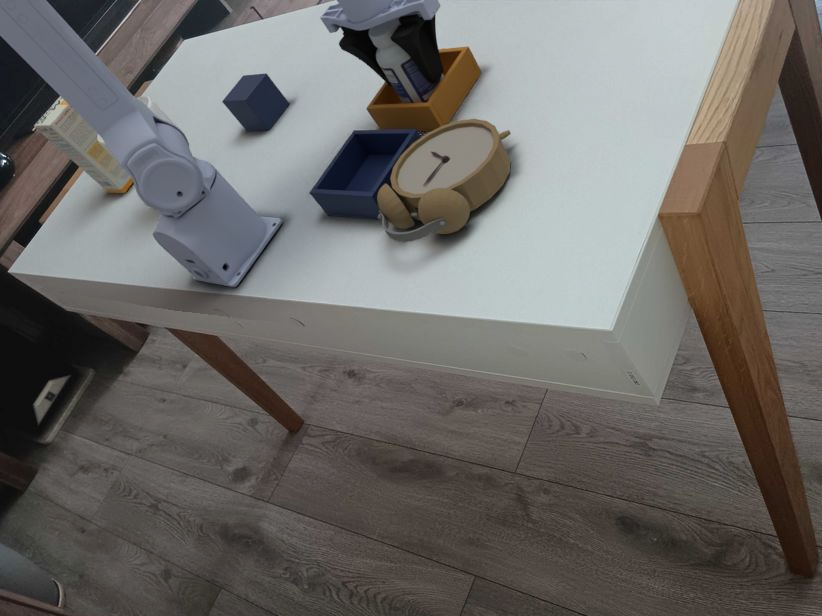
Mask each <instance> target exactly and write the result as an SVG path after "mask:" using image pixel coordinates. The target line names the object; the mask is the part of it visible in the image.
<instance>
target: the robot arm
mask: <svg viewBox="0 0 822 616" xmlns="http://www.w3.org/2000/svg"><path fill="white" fill-rule="evenodd" d="M336 1H337V3H336V4H331V5H328V7H327V8H326V9H325V11H324V12H322V14H321V16H320V17H319V19H320V20H321V23H323V25H324V26H325V28H326V29H327V31H328V32H329V33H330V34H333V33H337V32H338V31H339V30H340V29H341V31H342V35H343V36H342V38H341V39H340V40H339V42H338V46H339V47H340V49H341V50H342V51H344V52H346V53H348V54H349V55H352V56H354V57H355V58H357V59H359V60H360V61H361V62H363V63H364V64H365V65H366V66H368V68H370V69H371V70H373V72H375V73H376V74H377V75H378V76H379V77H380V78H381V79H382V80H383V81H384V83H385V82H386V83H388V84H389V85H390V86H392V85H391V83H390V82H389V80H388V78H387V77H386V75H385V74H384V72H383V70H382V69H381V67H380V66H379V64H378V62H377V60H376V51H377V49H378V48H377V47H376V46H375V45H374V44H373V42H372V40H371V38H370V37H369V30H370V28H372V27H375V26H377V25H380V24H382V23H385V22H388V21H394V20H399V22H400V24H401V25H399V26H398V28H397V29H396V30H395V32H394V33H393V34H392V36H391V37H390V39H391V40H392V42H394V43H396V44H397V45H398V46H400V47H401V48H402V49H403V50H404V51H405V52H406V53H407V54H408V55H409V56H410V57H411V58H412V59H413V61H414V62H415V63H416V65H417V66H418V68H419V69H420V71H421V72H422V74H423V75H424V77H425V78H426V79H427V80H428V81H429V82H430V83H436V82H437V80H438V79H439V77H440V76H441V75H442V73H443V72H444V69H443V66H442V62H441V58H440V54H439V50H438V49H439V46H438V39H437V31H436V16H437V15H436V14H437V12H438V11H439V10H440V8H441V3H440V1H439V0H336ZM0 37H1V38H2V39H3V40H4V41H5V42H6V43H7V44H8V45H9V46H10V47H11V48H12V49H13V50H14V52H16V53H17V54H18V55H19V56H20V57H21V58H22V59H23V60H24V61H25V62H26V63H27V64H28V65H29V66H30V67H31V68H32V69H33V70H34V71H35V72H36V73H37V75H39V76H40V77H41V78H42V79H43V80H44V81H45V82H46V83H47V84H48V85H49V86H50V87H51V88H52V89H53V90H54V91H55V92H56V93H57V95H59V97H60V96H61V97H62V98H63V99H64V100H65V101H66V102H67V103H68V104H69V105H70V106H71V107H72V108H73V109H74V110H75V111H76V112H77V113H78V114H79V115H80V116H81V117H82V118H83V119H84V120H85V121H86V122H87V123H88V124H89V125H90V126H91V127H92V128H93V129H94V130H95V131H96V132H97V133H98V134H99V135H100V136H101V138H102V139H103V140H104V142H105V143H106V145H107V146H108V148H109V149H110V151H111V152H112V154H113V155H114V157H115V158H116V160H117V161H118V163H119V164H120V165H121V166H122V167H123V168H124V169H125V170H126V171H127V172H128V174H129V175H130V176H131V178H132V180H133V185H134V189H135V192H136V195H138V197H139V199H140V200H141V201H142V202H143V203H144V204H145V205H146V206H148V207H149V208H150V209H152V210H155V211H157V212H159V213H160V215H159V219H158V222H157V225H156V227H155V229H154V230H153V231H152V236H153V238H154V240H155V241H156V243H157V244H158V245H159V246H160V247H161V248H162V249H163V250H164V251H165V252H166V253H168V254H169V255H170V256H171V258H173V259H175V261H176V262H177V263H179V264H180V265H181V266H182V267H183V268H184V269H186V270H187V272H189V273H190V274H191V275H192V278H193V280H195V281H199V282H203V283H210V284H215V285H219V286H225V287H230V288H236V287H237V286H239V284H240V282H241V281H242V280H243V278H244V277H245V276H246V275H247V273H248V272H249V270H250V269H251V267H252V266H253V265H254V263H255V262H256V260H257V259H258V258H259V256H260V254H261V253H262V252H263V251H264V249H265V248H266V246H267V245H268V244H269V242H270V241H271V240H272V238H273V237H274V235H275V234H276V233H277V231H278V230H279V228H280V227H281V225H282V224H283V220H282V218H280V217H272V216H262V215H259V214H258V213H257V212H256V211H255V210H254V209H253V208H252V207H251V205H250V204H249V203H248V202H247V201H246V200H245V198H243V197H242V196H241V194H240V193H239V192H238V191H237V190H236V189H235V188H234V186H232V185H231V184H230V183H229V181H228V180H227V179H226V178H225V177H224V176H223V175H222V174H221V173H220V172H219V171H218V169H216V168H215V167H214V165H213V164H212V163H211V162H208V161H206V160H203V159H200V158H197V157H195V156H192V155H193V153H192V151H191V148H190V143H189V141H188V138H187V136H186V134H185V132H183V131H182V129H181V128H179V127H178V126H177V125H176V124H175V123H174V124H175V125H174V124H172V123H170V122H168V121H165V120H163V119H161V118H159V117H158V116H156V115H155V114H154V113H153V112H152V111H151V110H150V109H149V108H148V107H147V106H146V105H145V104H144V103H142V102H141V101H139V100H138V99H136V98H137V97H135V96H134V95H133V94H132V93H131V92H130V91H129V90H128V88H127V87H126V86H125V85H124V84H123V83H122V82H121V81H120V80H119V79H118V78H117V76H116V75H115V74H114V73H113V72H112V70H111V69H110V68H108V66H107V65H106V64H105V63H104V62H103V61H102V60H101V59H100V58H99V56H97V54H96V53H95V52H94V51H93V50H92V49H91V48H90V47H89V45H88V44H87V43H86V42H85V41H84V40H83V39H82V38H81V36H80V35H79V34H77V32H76V31H75V30H74V29H73V28H72V26H70V25H69V23H68V22H67V21H66V20H65V19H64V18H63V17H62V16H61V15H60V14H59V13H58V12H57V10H56V9H55V8H54V7H53V6H52V5H51V4H50V3H49V1H48V0H0ZM189 148H190V149H189Z"/></svg>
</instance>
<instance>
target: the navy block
mask: <svg viewBox="0 0 822 616" xmlns="http://www.w3.org/2000/svg"><path fill="white" fill-rule="evenodd" d="M221 102H222V104H223V105H224V106H225V107H226V108H227V109H228V111H229V112H230V113H231V114H232V115H233V117H234V118H235V119H236V120H237V121H238V123H239V124H240V125H241V126H242V127H243V128H244V130H245V131H246V132H247V131H248V132H249V131H250V132H251V131H252V132H253V131H270V130H271V129H272V128H273V126H274V125H275V124H276V122H277V121H278V120H279V118H280V117H281V116H282V115H283V113H284V112H285V111H286V110H287V108H288V106H290V102H289V101H288V100H287V98H286V97H285V96H284V95H283V93H282V92H281V90H280V89H279V88H278V87H277V85H276V84H275V83H274V81H273V80H272V79H271V77H270V76H269V74H268V73H256V74H246V75H245V74H244V75H242V76H241V77H240V79H239V80H238V81H237V83H236V84H235V85H234V86H233V87H232V88H231V90H230V91H229V92H228V94H226V96H225V97H224V99H222V101H221Z"/></svg>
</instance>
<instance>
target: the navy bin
mask: <svg viewBox="0 0 822 616" xmlns="http://www.w3.org/2000/svg"><path fill="white" fill-rule="evenodd" d="M421 137H422V135H421V134H420V131H418V130H417V129H394V130H380V129H353V131H352V132H351V133H350V135H349V136H348V138H347V139H346V141H345V142H344V143H343V144H342V146H341V147H340V148H339V150H338V152H337V153H336V154H335V156H334V157H333V158H332V159H331V162H330V163H329V164H328V166H327V167H326V169H324V170H323V173H322V174H321V175H320V177H319V178H318V179H317V181H316V183H315V184H314V186H312V188H311V189H310V191H309V195H310V196H311V197H312V198H313V200H314V201H315V202H316V203H317V204H318V205H319V207H320V208H321V209H322V210H323V212H324V213H325V214H326V215H327V216H335V217H347V218H356V219H357V218H358V219H370V220H379V219H378V217H377V216H378V215H379V214H380V212H379V210H380V208H379V206H378V201H377V195H378V191H379V190H380V188H381V187H382V186H383V185H384V184H387V185H388V186H389V187H390V188H391V189H392V190H393V188H392V184H391V179H390V177H391V174H392V170H393V167H394V165H395V164H396V162H397V161H398V159H399V158H400V156H401V155H402V154H403V153H404V152H405V151H406V150H407V149H408V148H409V147H410V146H411V145H412V144H413V143H414V142H416V141H417V140H419V139H420V138H421ZM393 191H394V190H393ZM394 192H395V191H394ZM395 194H396V192H395ZM396 195H397V194H396ZM397 196H398V195H397ZM398 198H399V197H398ZM381 213H382V212H381ZM385 219H386V218H385ZM386 220H387V219H386Z"/></svg>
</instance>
